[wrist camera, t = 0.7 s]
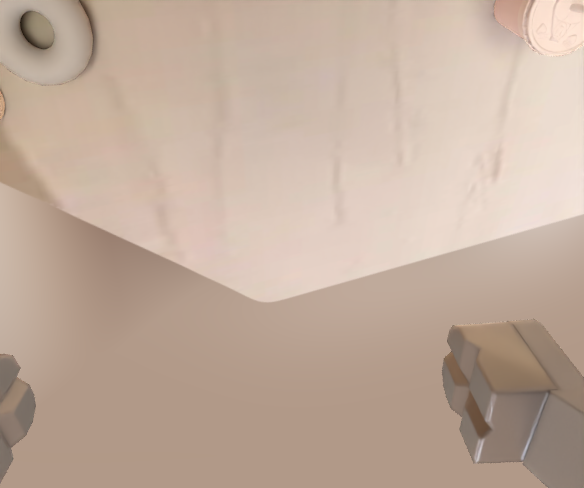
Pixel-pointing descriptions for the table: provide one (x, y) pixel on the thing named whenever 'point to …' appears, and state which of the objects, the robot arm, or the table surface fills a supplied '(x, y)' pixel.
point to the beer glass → (2, 105)
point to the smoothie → (544, 23)
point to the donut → (64, 51)
